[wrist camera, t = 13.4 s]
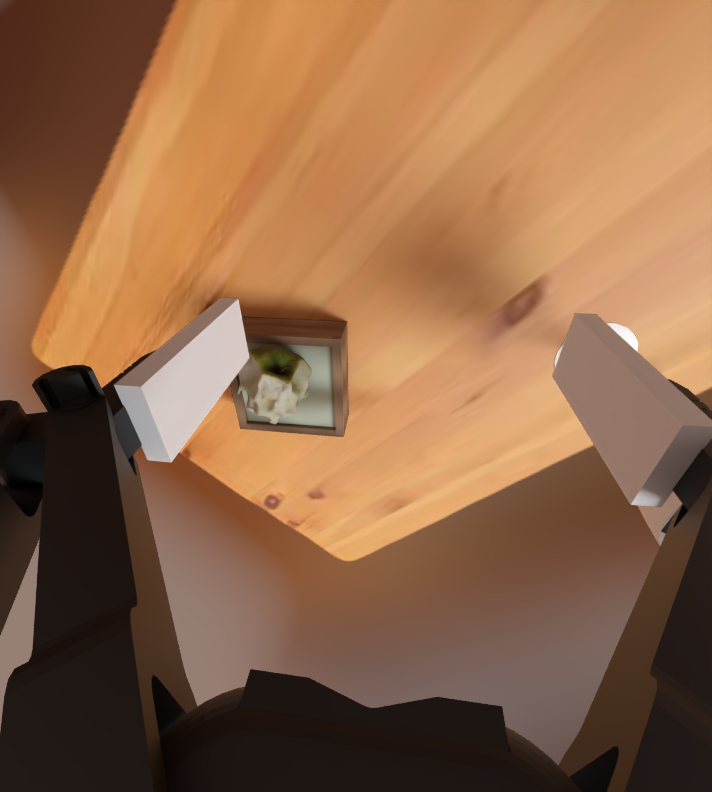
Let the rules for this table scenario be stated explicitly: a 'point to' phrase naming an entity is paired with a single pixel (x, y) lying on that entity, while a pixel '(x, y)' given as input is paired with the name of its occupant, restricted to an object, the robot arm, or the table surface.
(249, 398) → the fruit
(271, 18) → the table surface
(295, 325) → the stand
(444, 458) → the table surface
